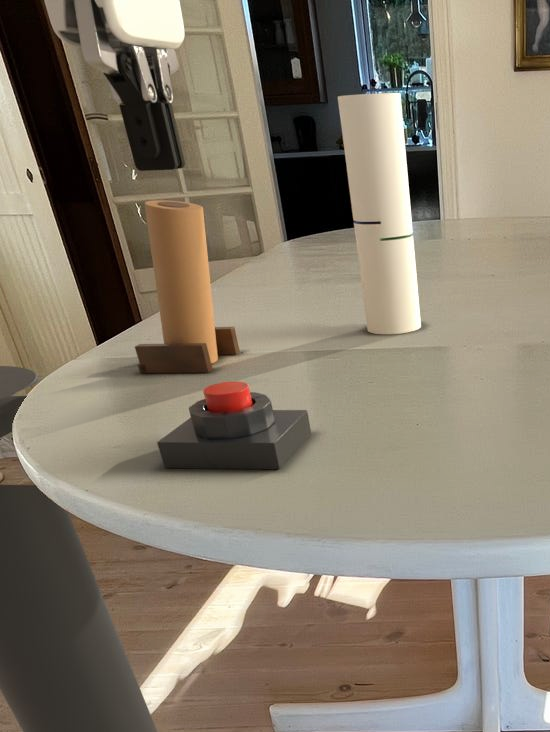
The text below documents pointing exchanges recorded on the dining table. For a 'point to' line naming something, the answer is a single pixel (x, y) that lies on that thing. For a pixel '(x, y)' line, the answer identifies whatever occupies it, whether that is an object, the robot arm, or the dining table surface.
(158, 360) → the roll stand
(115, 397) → the dining table surface
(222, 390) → the button
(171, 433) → the button box
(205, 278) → the paper roll
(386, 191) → the cylindrical container
